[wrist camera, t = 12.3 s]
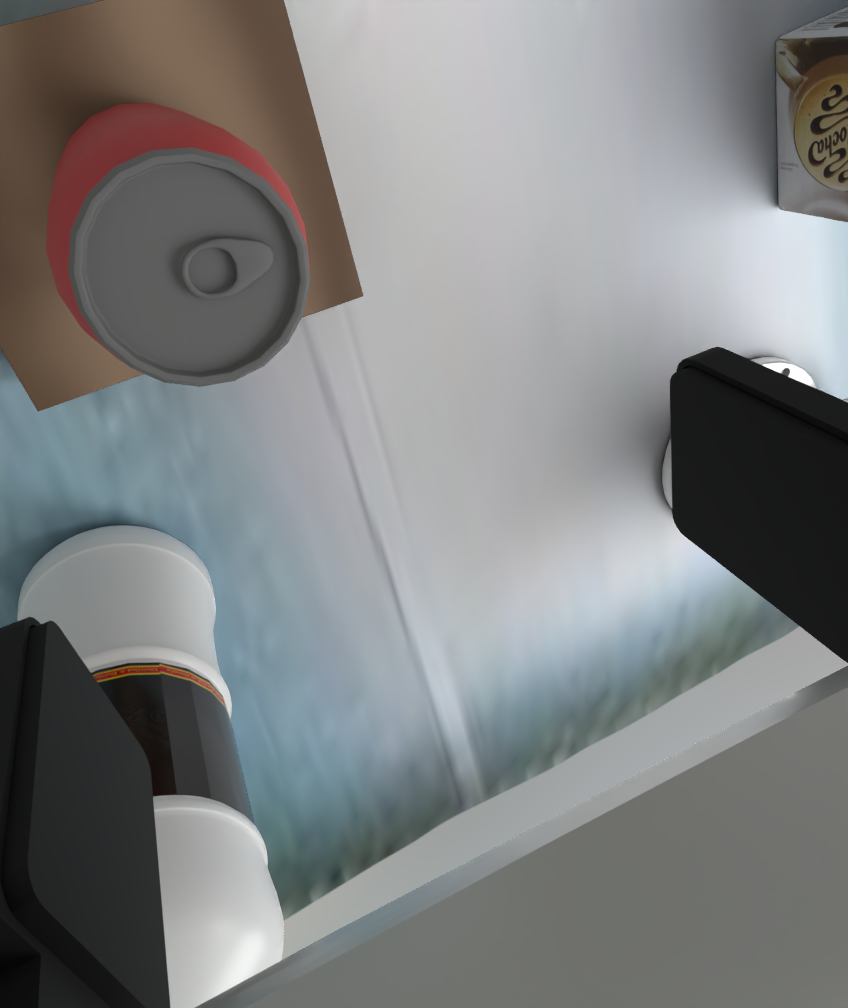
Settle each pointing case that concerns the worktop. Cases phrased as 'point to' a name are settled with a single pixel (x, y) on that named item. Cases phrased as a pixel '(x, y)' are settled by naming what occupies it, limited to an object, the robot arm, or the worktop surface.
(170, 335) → the beer can
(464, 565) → the worktop surface
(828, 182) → the coffee box
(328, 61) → the worktop surface
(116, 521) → the worktop surface
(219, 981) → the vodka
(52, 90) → the walnut base
